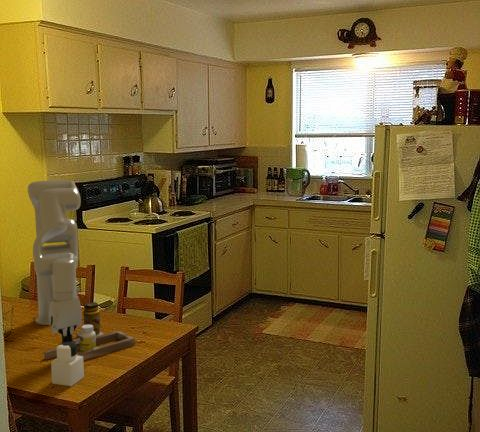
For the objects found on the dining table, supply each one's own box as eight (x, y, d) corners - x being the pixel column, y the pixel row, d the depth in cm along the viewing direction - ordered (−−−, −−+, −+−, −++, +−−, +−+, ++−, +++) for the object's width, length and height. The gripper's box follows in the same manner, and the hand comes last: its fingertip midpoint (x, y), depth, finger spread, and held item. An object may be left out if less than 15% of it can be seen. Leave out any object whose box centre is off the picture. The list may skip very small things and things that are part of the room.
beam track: (40, 355, 192) (40, 348, 192) (114, 334, 212) (114, 327, 212) (59, 368, 182) (58, 360, 182) (135, 344, 202) (134, 337, 202)
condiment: (103, 334, 213) (102, 304, 211) (82, 339, 208) (80, 308, 206) (97, 329, 219) (96, 299, 217) (76, 333, 214) (74, 303, 212)
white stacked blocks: (65, 374, 178) (63, 338, 176) (84, 377, 176) (82, 341, 174) (51, 383, 171) (49, 347, 169) (71, 386, 169) (69, 349, 167)
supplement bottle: (76, 354, 193) (76, 327, 192) (87, 348, 198) (86, 322, 197) (89, 356, 191) (88, 329, 190) (99, 351, 196) (98, 324, 195)
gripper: (79, 287, 195) (81, 336, 198) (39, 296, 185) (41, 347, 188) (90, 292, 189) (92, 342, 193) (48, 302, 179) (51, 354, 183)
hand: (67, 344), depth 190 cm, fingers closed
